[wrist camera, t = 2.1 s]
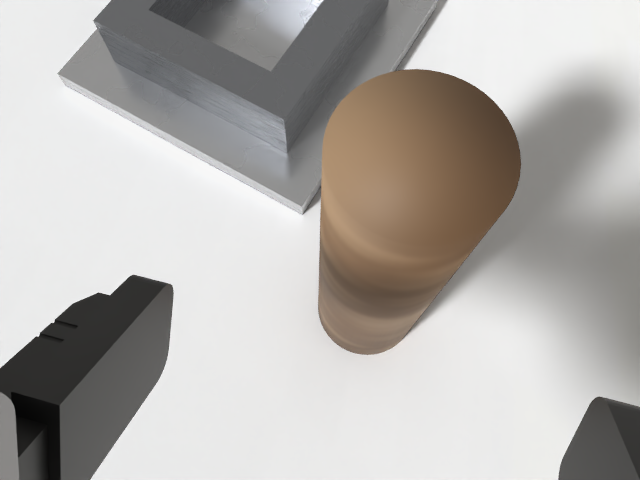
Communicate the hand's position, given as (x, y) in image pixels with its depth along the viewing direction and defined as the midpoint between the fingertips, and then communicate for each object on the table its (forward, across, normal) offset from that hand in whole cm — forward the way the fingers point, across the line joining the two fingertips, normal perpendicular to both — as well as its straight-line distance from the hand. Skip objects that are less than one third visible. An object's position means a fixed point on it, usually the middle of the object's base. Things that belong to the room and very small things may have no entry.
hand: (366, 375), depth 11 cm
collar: (+17, +8, -3) cm, 19 cm away
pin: (+10, 0, +4) cm, 11 cm away
